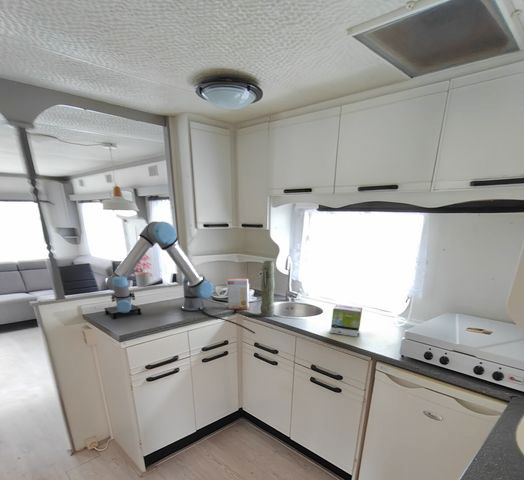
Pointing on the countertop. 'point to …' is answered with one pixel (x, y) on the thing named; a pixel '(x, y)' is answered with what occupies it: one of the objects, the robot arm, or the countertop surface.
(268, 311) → the thermos
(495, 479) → the countertop surface
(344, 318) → the tea box
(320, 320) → the countertop surface
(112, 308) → the black footed platform
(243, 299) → the cracker box
